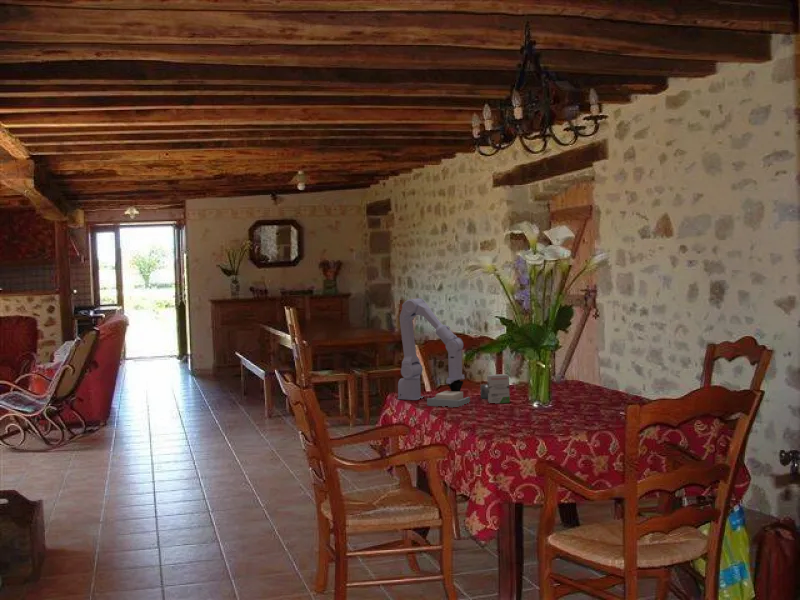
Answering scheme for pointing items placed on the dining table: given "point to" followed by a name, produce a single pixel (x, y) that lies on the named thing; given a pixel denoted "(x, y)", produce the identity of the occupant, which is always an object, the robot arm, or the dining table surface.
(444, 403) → the display stand
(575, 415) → the dining table surface
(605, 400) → the dining table surface
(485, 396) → the grey glossy ball
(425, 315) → the robot arm
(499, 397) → the ink box
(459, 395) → the carton
